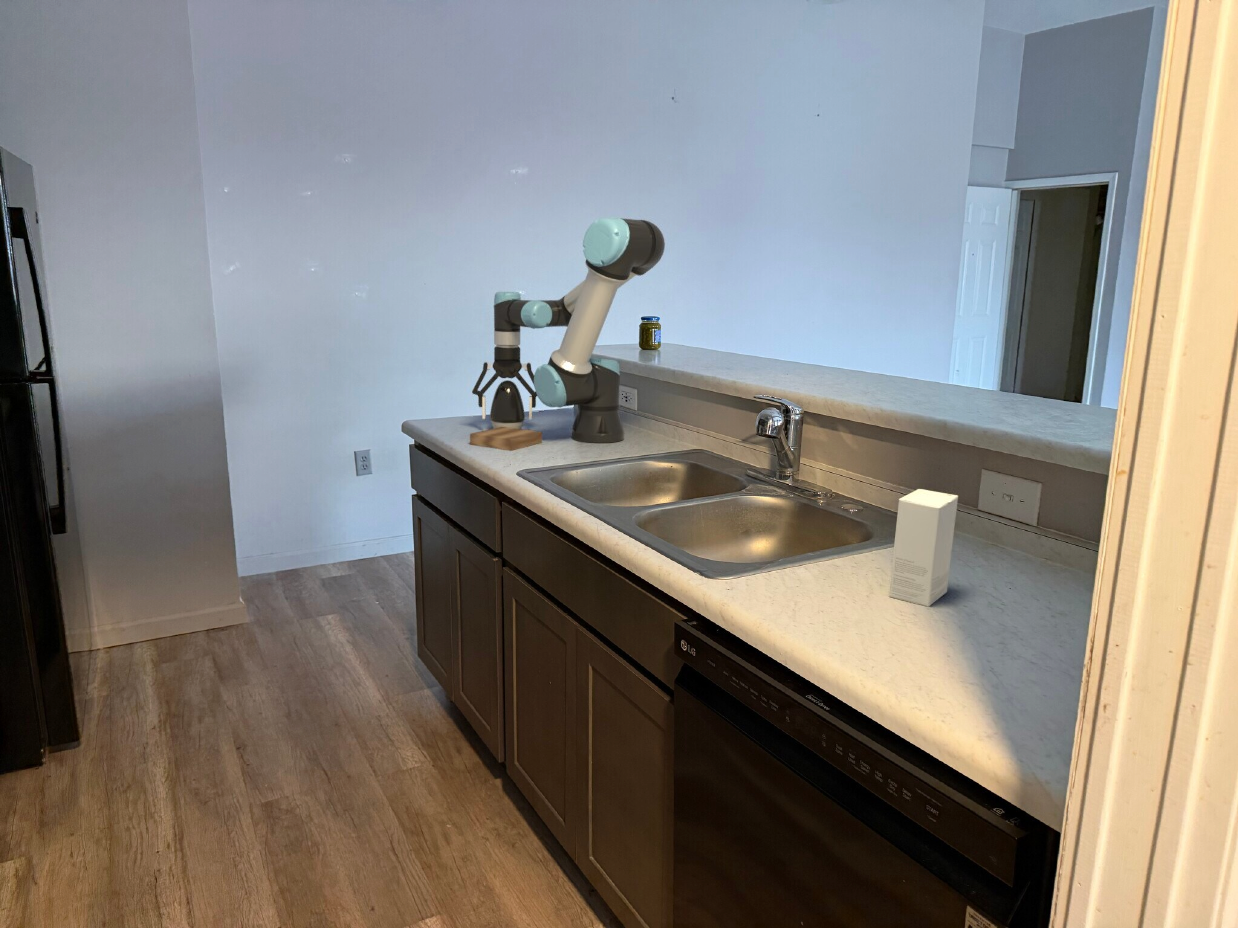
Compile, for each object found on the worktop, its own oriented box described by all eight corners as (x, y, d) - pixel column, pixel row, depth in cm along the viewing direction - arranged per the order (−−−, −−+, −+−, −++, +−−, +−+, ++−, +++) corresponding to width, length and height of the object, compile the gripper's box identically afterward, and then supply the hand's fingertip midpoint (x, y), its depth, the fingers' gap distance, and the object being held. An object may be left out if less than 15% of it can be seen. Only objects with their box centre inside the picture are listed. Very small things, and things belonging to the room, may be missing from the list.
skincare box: (908, 583, 140) (917, 487, 137) (950, 593, 136) (961, 495, 133) (887, 597, 134) (896, 497, 131) (930, 608, 130) (941, 505, 127)
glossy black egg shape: (483, 432, 260) (483, 381, 257) (499, 427, 270) (499, 377, 266) (515, 436, 257) (515, 383, 254) (530, 430, 266) (530, 379, 263)
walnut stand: (541, 442, 248) (542, 432, 247) (511, 450, 236) (511, 439, 235) (501, 437, 254) (501, 426, 254) (470, 444, 243) (470, 433, 242)
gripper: (550, 345, 263) (549, 416, 267) (464, 344, 260) (465, 415, 265) (550, 348, 256) (550, 420, 260) (462, 346, 253) (463, 420, 258)
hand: (507, 418), depth 262 cm, fingers open, 13 cm apart
